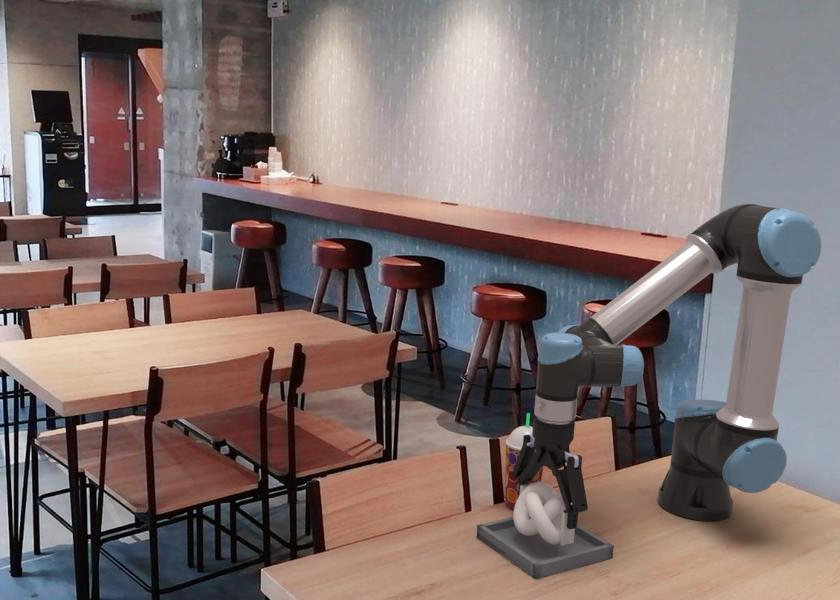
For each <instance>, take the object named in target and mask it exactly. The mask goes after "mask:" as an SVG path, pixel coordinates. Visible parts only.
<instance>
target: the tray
mask: <svg viewBox="0 0 840 600" xmlns="http://www.w3.org/2000/svg"><path fill="white" fill-rule="evenodd" d="M529 519H531V517H529ZM476 538H477V540H479V541H481V543H484V544H486V546H488V547H489V548H491V549H492V548H493V550H494V551H495V550H496V551H495V552H496V553H498V554H499V553H500V555H501V556H502V555H503V556H502V557H504V558H505V559H506V560H508V561H509V560H510V561H509V562H511V563H512V562H513V563H512V564H514V565H515V564H516V565H517V566H516V565H515V566H516V567H518V568H519V567H520V569H521V570H522V571H524V572H525V573H526V574H528V575H529V576H531V577H532V578H534V579H535V580H539V579H542V578H546V577H549V576H553V575H556V574H560V573H564V572H567V571H571V570H574V569H577V568H582V567H586V566H591V565H592V564H597V563H600V562H604V561H608V560H610V559H613V556H614V550H615V549H614V548H615V545H614V544H612V543H611V542H609V541H607V540H605V539H604V538H601V537H600V536H599V535H597V534H595V533H594V532H591V531H590V530H588V529H587V528H585V527H583V526H581V525H579V524H578V523H577V527H576V528H575V533H574V543H571V544H567V545H563V546H562V545H560V543H559V544H555V545H552V544H550V543H547V542H546V541H545V540H544V539H543V538H542V537H541V535H540V534H539V533H538V534H536V535H533V536H526V535H523V534H521V533H520V532H519V531H518V530H517V529H516V527H515V524H514V519H513V516H512V517H511V516H510V517H507V518H503V519H498V520H495V521H494V520H493V521H489V522H485V523H480V524H477V526H476Z"/></svg>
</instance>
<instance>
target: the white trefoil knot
mask: <svg viewBox="0 0 840 600" xmlns="http://www.w3.org/2000/svg"><path fill="white" fill-rule="evenodd" d="M571 505H572V503H571ZM565 509H566V508H565V504H564V501H563V498H562V495H561V493H559V494H558V493H557V491H556V490H555V488H554V487H553V486H552V485H550V484H549V483H547V482H543V481H541V482H535V483H532V484H530V485H529V486H527V487H526V488H525V489H524V490H523V491H522V493H521V494H520V495H519V497H518V499H517V501H516V504H515V507H514V509H513V512H512V514H513V515H512V517H513V519H514V524H515V527H516V529H517V530H518V531H519V532H520V533H521V534H523V535H526V536H533V535H536V534H538V533H539V534H540V535H541V537H542V538H543V539H544V540H545V541H546V542H547V543H550V544H552V545H555V544H559V543H560V532H561V521H562V510H565ZM529 515H530V517H531V519H529Z"/></svg>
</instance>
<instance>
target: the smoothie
mask: <svg viewBox="0 0 840 600" xmlns="http://www.w3.org/2000/svg"><path fill="white" fill-rule="evenodd" d="M530 418H531V413H530V412H527V413H526V421H525V425H522V426H521V425H520V426H518V427H516V428H514V429H513V430H512V432H511V433H510V434H509V436H508V438H506V440H505V476H504V477H505V484H504V485H505V487H504V489H505V491H504V492H505V494H504V495H505V496H504V498H505V501H506V502H507V506H508V507H509V508H511V510H514V507H515V504H516V501H517V499H518V491H519V484H518V481H517V478H514V477H513V476H512V471H513V469H514V466H515V464H516V461H517V459H518V456H519V454H520V451H521V448H522V446H523V437H524V435H527V434H532V431H533V426H531V425H530ZM535 451H536V449H535ZM534 453H535V452H534ZM533 455H534V454H533ZM520 470H521V469H520ZM543 471H544V466H542V467H541V469H540V470H539V471H538V473H537V474H536V475H535V477H534V478H533V480H532V481H533V482H529V484H530V483H535V482H542V478H543Z"/></svg>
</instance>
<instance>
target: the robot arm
mask: <svg viewBox="0 0 840 600" xmlns="http://www.w3.org/2000/svg"><path fill="white" fill-rule="evenodd" d="M819 231H820V230H819V229H818V227H817V225H815V223H814V222H813V220H811V219H810V217H808V216H807V215H805V214H803V213H801V212H798V211H794V210H792V209H790V208H789V209H788V208H783V207H782V208H781V207H780V208H779V207H772V206H764V205H759V204H756V203H755V204H754V203H743V204H738V205H735V206H732V207H729V208H728V209H725V210H724V211H721V212H719V213H718V214H716V215H715V216H713V217H712V218H710V219H708V220H707V221H706V222H704V223H703V224H701V225H699V226H698V227H697V228H696V229H695V230H693V231H692V232H690V234H688V235H687V236H686V239H685V240H686V241H685V244H683V245H682V246H681V247H680V248H678V249H677V250H676V251H675V252H673V253H672V254H670V255H669V256H668V257H666V258H665V259H664V260H663V261H662V262H660V263H659V264H658V265H656V266H655V267H654V268H652V269H651V270H650V271H649V272H647V273H646V274H645V275H643V276H642V277H640V278H639V279H638V280H637V281H636V282H634V283H633V284H631V285H630V286H629V287H628V288H627V289H625V290H624V291H622V292H621V293H620V294H619V295H617V296H615V298H614V299H612V300H611V301H610V302H609V303H606V305H604V306H603V307H602V308H600V309H599V310H597V312H596V313H594V314H592V315H591V316H590V317H589V318H588V319H586V320H585V321H583V322H582V323H581V324H580V325H575V324H572V325H571V324H570V325H566V326H564V327H562V328H561V329H560V330H559V331H558V332H549V333H546V334H545V335H543V336H542V337H541V339H540V344H539V346H538V348H539V349H538V355H537V374H536V375H537V376H536V387H535V388H536V389H535V401H534V416H535V417H534V418H533V421H532V427H533V431H532V434H527V435H524V437H523V446H522V448H521V451H520V454H519V456H518V459H517V461H516V464H515V466H514V469H513V471H512V476H513V477H514V478H517V481H518V484H519V491H518V497H519V495H520V494H521V493H522V491H523V490H524V489H525V488H526V487H527V486H529V485H530V484H532V483H530V484H529V482H533V481H532V480H533V478H534V477H535V475H536V474H537V473H538V471H539V470H540V469H541V467H542V466H543V467H546V468H547V469H548V470H550V471H551V474H552V476H554V477H555V479H556V481H557V485H558V488H559V492H560V494H561V495H562V498H563V501H564V504H565V508H566V509H565V510H562V521H561V532H560V545H562V546H563V545H567V544H571V543H574V533H575V528H576V527H577V524H578V522H579V521H578V519H579V513H582V512H587V511H588V510H589V507H588V500H587V495H586V494H587V493H586V489H585V483H584V476H583V470H582V463H583V457H582V455H580V454H576V455H574V454H572V453H571V451H570V444H571V443H572V442H573V441H574V438H575V437H574V436H575V428H576V422H575V421H574V420H575V419H576V417H577V403H578V395H579V393H578V392H579V388H592V387H593V388H594V387H595V388H596V387H597V388H598V387H599V388H601V387H602V388H605V387H606V388H607V387H608V388H610V387H612V388H613V387H614V388H615V387H617V388H618V387H619V388H622V387H631V386H636V385H637V384H639V383H640V381H641V380H642V379H643V375H644V368H645V361H644V357H643V354H642V352H641V350H640V349H639V348H638V347H637V346H635V345H628V344H627V345H626V344H623V343H622V344H620V343H621V342H622V341H624V340H626V339H627V338H628V337H629V336H630V335H632V334H633V333H634V332H636V331H637V330H638V329H640V328H641V327H642V326H643V325H645V324H646V323H648V322H649V321H650V320H651V319H652V318H654V317H655V316H657V315H658V314H659V313H660V312H661V311H663V310H665V309H666V308H668V306H670V305H671V304H672V303H674V302H675V301H677V299H679V298H680V297H681V296H682V295H684V294H685V293H687V292H688V291H689V290H691V289H692V288H693V287H695V285H697V284H698V283H700V282H701V281H703V280H704V279H705V278H706V277H707V276H709V275H710V274H715V275H717V274H720V273H721V272H723V270H725V269H726V268H729V267H730V266H732V265H736V264H737V268H736V275H735V276H736V279H737V280H738V282H739V283H740V284H741V285H742V292H741V299H740V305H739V314H738V320H737V326H736V332H735V333H736V334H735V338H734V340H735V341H734V346H733V355H732V361H731V366H730V373H729V379H728V386H727V393H726V400H725V401H721V400H712V399H701V398H700V399H687V400H683V401H681V402H679V403H678V405H677V407H676V410H675V414H674V424H673V425H674V426H673V427H674V428H673V437H672V445H671V446H672V447H671V453H670V454H671V456H670V465H669V469H668V470H667V472H666V474H665V477H664V479H663V481H662V483H661V486H660V487H659V490H658V496H657V502H658V504H659V505H660V507H661V508H662V509H664V510H666V511H667V512H669V513H670V514H674V515H675V516H679V517H681V518H686V519H689V520H695V521H705V522H706V521H708V522H714V521H715V522H716V521H721V520H725V519H728V518H729V517H730V516H732V513H733V506H734V504H733V502H734V501H733V499H732V496H731V489H730V487H732V488H733V489H734V488H735V489H737V490H739V491H741V492H743V493H748V494H754V493H755V494H757V493H760V492H764V491H766V490H768V489H770V488H771V486H772V485H773V484H776V483H777V482H778V481H779V479H781V477H782V475H784V472H785V469H786V466H787V459H788V458H787V456H788V455H787V453H786V450H785V449H784V447H783V445H782V444H781V442H779V441H778V435H779V428H780V422H779V421H778V420H777V419H776V417H775V416H774V415H773V412H774V405H775V398H776V393H777V386H778V380H779V375H780V374H779V373H780V367H781V361H782V354H783V349H784V348H783V347H784V341H785V335H786V329H787V324H788V323H787V322H788V318H789V317H788V315H789V309H790V303H791V297H792V293H793V292H794V291H795V290H796V289H797V288H799V287H800V286H801V285H803V284H802V283H803V276H804V275H805V274H807V273H809V272H810V271H811V270H812V267H813V266H816V264H817V263H818V261H819V258H820V256H821V251H822V239H821V234H820V232H819ZM535 449H536V451H535ZM534 452H535V453H534ZM533 454H534V455H533ZM520 469H521V470H520ZM571 503H572V505H571ZM529 517H530V515H529Z"/></svg>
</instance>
